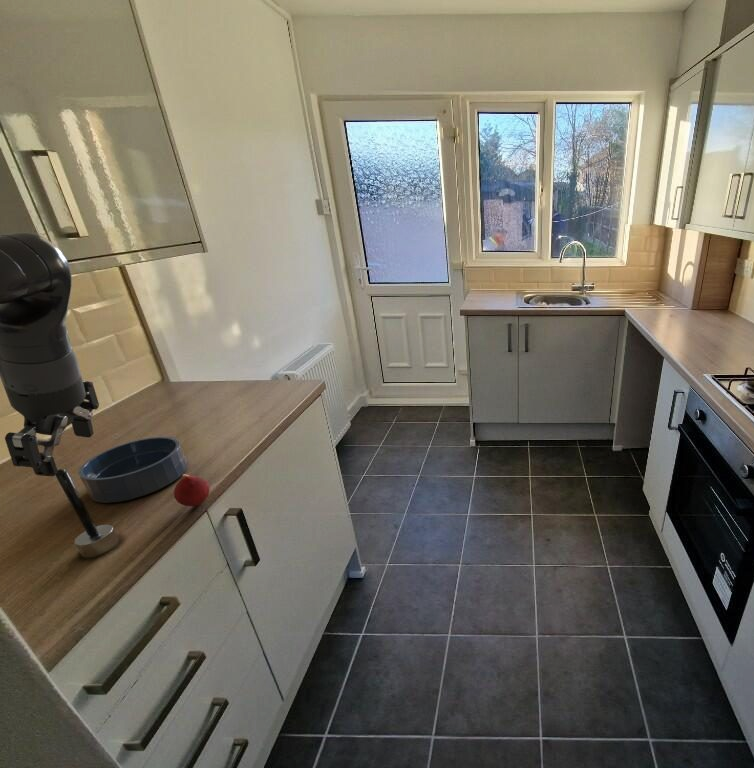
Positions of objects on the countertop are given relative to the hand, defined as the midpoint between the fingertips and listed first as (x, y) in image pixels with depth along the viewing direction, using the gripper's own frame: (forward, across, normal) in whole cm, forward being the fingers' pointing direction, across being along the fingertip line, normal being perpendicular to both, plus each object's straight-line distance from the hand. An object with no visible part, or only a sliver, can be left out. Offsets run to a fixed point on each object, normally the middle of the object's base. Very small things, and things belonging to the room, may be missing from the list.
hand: (67, 453), depth 67 cm
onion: (+20, -7, +15) cm, 26 cm away
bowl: (+28, -18, -1) cm, 34 cm away
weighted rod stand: (+22, +3, +3) cm, 22 cm away
